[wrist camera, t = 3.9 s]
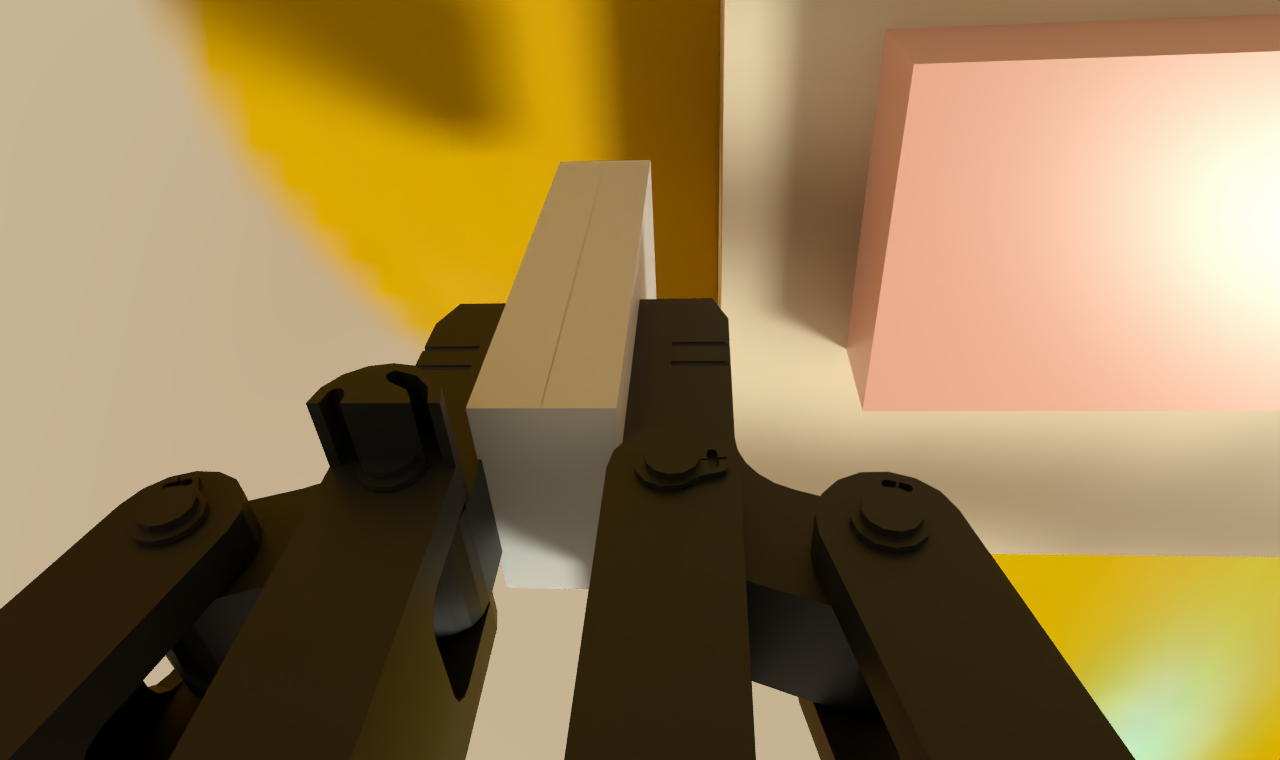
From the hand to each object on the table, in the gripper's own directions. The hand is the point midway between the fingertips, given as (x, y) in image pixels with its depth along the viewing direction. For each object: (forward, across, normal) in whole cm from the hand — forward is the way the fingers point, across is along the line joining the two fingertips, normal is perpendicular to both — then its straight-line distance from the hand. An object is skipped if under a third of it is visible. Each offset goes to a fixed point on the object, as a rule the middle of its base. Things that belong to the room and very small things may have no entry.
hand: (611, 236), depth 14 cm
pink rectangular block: (+1, +9, 0) cm, 9 cm away
